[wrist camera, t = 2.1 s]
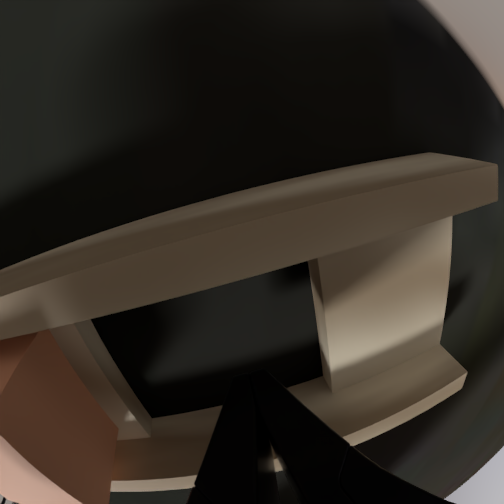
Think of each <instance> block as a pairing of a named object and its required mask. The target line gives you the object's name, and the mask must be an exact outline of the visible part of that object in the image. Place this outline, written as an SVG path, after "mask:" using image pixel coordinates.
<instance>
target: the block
mask: <svg viewBox="0 0 504 504" xmlns="http://www.w3.org/2000/svg"><path fill="white" fill-rule="evenodd" d="M118 430H119V428H118V427H117V426H116V425H115V424H114V423H113V421H112V420H111V419H110V418H109V416H108V415H107V414H106V413H105V412H104V410H103V409H102V408H101V406H100V405H99V404H98V403H97V401H96V400H95V399H94V397H93V396H92V395H91V393H90V392H89V390H88V389H87V388H86V386H85V385H84V384H83V382H82V381H81V379H80V378H79V376H78V375H77V373H76V372H75V370H74V369H73V368H72V366H71V364H70V363H69V361H68V360H67V358H66V357H65V355H64V354H63V352H62V350H61V349H60V347H59V345H58V344H57V342H56V340H55V339H54V337H53V335H52V334H51V332H50V330H49V329H47V330H43V331H38V332H34V333H30V334H25V335H21V336H16V337H12V338H7V339H3V340H0V494H1V495H2V496H3V497H5V498H6V499H8V500H10V501H13V502H16V503H20V504H109V499H110V489H111V480H112V472H113V464H114V457H115V450H116V443H117V437H118Z"/></svg>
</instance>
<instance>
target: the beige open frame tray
mask: <svg viewBox="0 0 504 504" xmlns="http://www.w3.org/2000/svg"><path fill="white" fill-rule="evenodd" d="M495 201H498V164H494V163H489V162H484V161H479V160H474V159H468V158H463V157H457V156H451V155H445V154H438V153H431V152H429V153H422V154H415V155H409V156H403V157H397V158H391V159H385V160H380V161H374V162H369V163H363V164H358V165H353V166H348V167H343V168H338V169H333V170H328V171H323V172H319V173H314V174H309V175H305V176H300V177H296V178H292V179H287V180H283V181H279V182H274V183H270V184H266V185H262V186H258V187H254V188H250V189H246V190H242V191H238V192H234V193H230V194H227V195H223V196H219V197H215V198H212V199H208V200H204V201H201V202H197V203H194V204H190V205H187V206H183V207H180V208H176V209H173V210H170V211H166V212H163V213H159V214H156V215H153V216H150V217H146V218H143V219H140V220H137V221H134V222H130V223H127V224H124V225H121V226H118V227H115V228H112V229H109V230H106V231H103V232H100V233H97V234H94V235H91V236H88V237H86V238H83V239H80V240H77V241H74V242H71V243H69V244H66V245H63V246H60V247H58V248H55V249H52V250H50V251H47V252H44V253H42V254H39V255H36V256H34V257H31V258H29V259H26V260H24V261H21V262H19V263H16V264H14V265H11V266H9V267H6V268H4V269H1V270H0V340H3V339H7V338H12V337H16V336H21V335H25V334H30V333H34V332H38V331H43V330H47V329H49V330H50V332H51V334H52V335H53V337H54V339H55V340H56V342H57V344H58V345H59V347H60V349H61V350H62V352H63V354H64V355H65V357H66V358H67V360H68V361H69V363H70V364H71V366H72V368H73V369H74V370H75V372H76V373H77V375H78V376H79V378H80V379H81V381H82V382H83V384H84V385H85V386H86V388H87V389H88V390H89V392H90V393H91V395H92V396H93V397H94V399H95V400H96V401H97V403H98V404H99V405H100V406H101V408H102V409H103V410H104V412H105V413H106V414H107V415H108V416H109V418H110V419H111V420H112V421H113V423H114V424H115V425H116V426H117V427H118V428H119V430H118V437H117V443H116V450H115V457H114V464H113V472H112V480H111V489H110V491H112V492H140V491H162V490H175V489H186V488H192V487H194V486H195V485H194V482H195V479H196V477H197V474H198V471H199V469H200V466H201V463H202V461H203V458H204V455H205V452H206V450H207V447H208V444H209V442H210V439H211V436H212V433H213V431H214V428H215V425H216V422H217V419H218V417H219V414H220V411H221V408H222V405H221V406H217V407H212V408H207V409H203V410H198V411H193V412H187V413H182V414H176V415H170V416H164V417H158V418H151V416H150V415H149V414H148V412H147V411H146V409H145V408H144V407H143V405H142V404H141V402H140V401H139V399H138V398H137V396H136V395H135V394H134V392H133V391H132V389H131V388H130V386H129V384H128V383H127V381H126V380H125V378H124V377H123V375H122V374H121V372H120V370H119V369H118V367H117V365H116V364H115V362H114V361H113V359H112V357H111V355H110V354H109V352H108V350H107V349H106V347H105V345H104V343H103V342H102V340H101V338H100V336H99V334H98V333H97V331H96V329H95V327H94V325H93V323H92V321H91V319H93V318H97V317H101V316H105V315H109V314H113V313H117V312H121V311H125V310H129V309H133V308H137V307H141V306H145V305H149V304H153V303H156V302H160V301H164V300H168V299H172V298H176V297H179V296H183V295H187V294H191V293H194V292H198V291H202V290H205V289H209V288H213V287H216V286H220V285H224V284H227V283H231V282H235V281H238V280H242V279H245V278H249V277H253V276H256V275H260V274H263V273H267V272H270V271H274V270H277V269H281V268H284V267H288V266H291V265H295V264H298V263H301V262H305V261H308V266H309V273H310V279H311V286H312V292H313V299H314V306H315V314H316V321H317V329H318V336H319V344H320V353H321V361H322V370H323V376H321V377H318V378H316V379H313V380H310V381H307V382H304V383H301V384H298V385H294V386H291V387H288V388H287V389H288V390H289V391H290V392H291V393H292V394H293V395H294V396H295V397H297V398H298V399H299V400H300V401H301V402H302V403H303V404H304V405H305V406H307V407H308V408H309V409H310V410H311V411H312V412H313V413H314V414H316V415H317V416H318V417H319V418H320V419H321V420H323V421H324V422H325V423H326V424H327V425H328V426H330V427H331V428H332V429H333V430H334V431H335V432H337V433H338V434H339V435H340V436H341V437H343V438H344V439H345V440H346V441H347V442H349V443H350V446H355V445H357V444H359V443H362V442H364V441H366V440H369V439H371V438H373V437H375V436H378V435H380V434H382V433H384V432H386V431H388V430H390V429H392V428H394V427H396V426H398V425H400V424H402V423H404V422H406V421H408V420H410V419H412V418H414V417H415V416H417V415H419V414H421V413H423V412H424V411H426V410H428V409H430V408H431V407H433V406H435V405H436V404H438V403H440V402H441V401H443V400H445V399H446V398H448V397H449V396H451V395H453V394H454V393H456V392H457V391H459V390H460V389H462V387H463V384H464V381H465V378H466V375H467V371H466V370H465V369H464V368H463V367H462V366H461V365H460V364H459V363H458V362H457V361H456V360H455V359H454V358H453V357H452V356H451V355H450V354H449V353H448V352H447V351H446V350H445V349H444V348H443V347H442V346H441V345H440V339H441V334H442V328H443V322H444V316H445V309H446V302H447V294H448V285H449V275H450V262H451V246H452V216H453V215H456V214H459V213H463V212H466V211H469V210H472V209H474V208H477V207H480V206H483V205H486V204H489V203H492V202H495ZM270 444H271V443H270ZM271 448H272V445H271ZM272 454H273V460H274V467H275V472H277V471H281V470H283V469H282V467H281V465H280V463H279V461H278V459H277V457H276V455H275V452H274V450H273V448H272Z"/></svg>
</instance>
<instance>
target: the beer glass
mask: <svg viewBox="0 0 504 504" xmlns="http://www.w3.org/2000/svg"><path fill="white" fill-rule="evenodd" d="M0 504H19V503H16V502H13V501H10V500H8V499H6V498H5V497H3V496H2V495H1V494H0Z"/></svg>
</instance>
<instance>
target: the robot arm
mask: <svg viewBox="0 0 504 504" xmlns="http://www.w3.org/2000/svg"><path fill="white" fill-rule="evenodd" d="M270 443H271V444H270ZM271 445H272V448H273V450H274V452H275V455H276V457H277V459H278V461H279V463H280V465H281V467H282V469H283V471H284V473H285V475H286V477H287V479H288V481H289V483H290V485H291V487H292V489H293V491H294V493H295V495H296V497H297V499H298V501H299V503H300V504H455V503H452V502H449V501H447V500H444V499H442V498H439V497H437V496H435V495H433V494H431V493H429V492H427V491H425V490H423V489H420V488H418V487H416V486H414V485H412V484H410V483H409V482H407V481H405V480H403V479H401V478H399V477H397V476H395V475H394V474H392V473H390V472H389V471H387V470H385V469H384V468H382V467H380V466H379V465H378V464H376V463H375V462H373V461H372V460H371V459H369V458H368V457H366V456H365V455H364V454H363V453H361V452H360V451H359V450H358V449H356V448H355V447H354V446H350V443H349V442H347V441H346V440H345V439H344V438H343V437H341V436H340V435H339V434H338V433H337V432H335V431H334V430H333V429H332V428H331V427H330V426H328V425H327V424H326V423H325V422H324V421H323V420H321V419H320V418H319V417H318V416H317V415H316V414H314V413H313V412H312V411H311V410H310V409H309V408H308V407H307V406H305V405H304V404H303V403H302V402H301V401H300V400H299V399H298V398H297V397H295V396H294V395H293V394H292V393H291V392H290V391H289V390H288V389H287V388H286V387H284V386H283V385H282V384H281V383H280V382H279V381H278V380H277V379H276V378H275V377H274V376H273V375H272V374H271V373H270V372H268V371H267V370H266V369H265V368H262V369H258V370H254V371H251V372H250V374H248V373H243V374H240V375H236V376H234V377H233V378H232V380H231V383H230V386H229V388H228V391H227V394H226V397H225V400H224V403H223V405H222V408H221V411H220V414H219V417H218V419H217V422H216V425H215V428H214V431H213V433H212V436H211V439H210V442H209V444H208V447H207V450H206V452H205V455H204V458H203V461H202V463H201V466H200V469H199V471H198V474H197V477H196V479H195V482H194V485H195V486H194V487H192V490H191V492H190V495H189V498H188V500H187V502H186V504H280V500H279V493H278V487H277V480H276V473H275V467H274V460H273V454H272V448H271Z"/></svg>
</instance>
